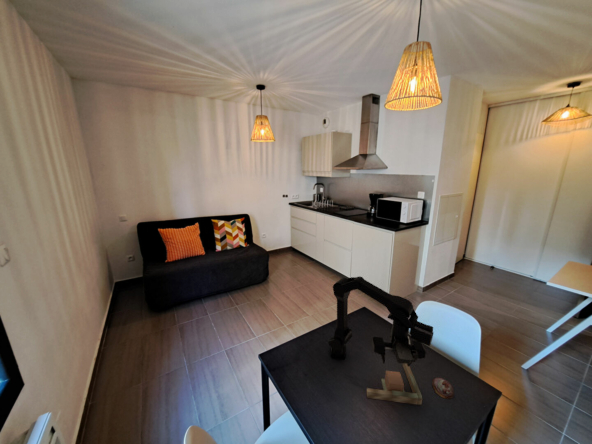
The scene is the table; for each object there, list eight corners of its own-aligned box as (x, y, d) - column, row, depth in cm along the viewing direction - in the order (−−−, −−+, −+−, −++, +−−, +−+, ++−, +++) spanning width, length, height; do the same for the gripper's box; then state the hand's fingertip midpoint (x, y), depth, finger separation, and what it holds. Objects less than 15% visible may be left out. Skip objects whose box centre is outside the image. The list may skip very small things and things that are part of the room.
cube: (388, 393, 89) (389, 383, 87) (384, 380, 94) (385, 370, 92) (402, 395, 88) (404, 385, 86) (398, 382, 93) (399, 372, 92)
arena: (367, 397, 87) (367, 390, 87) (361, 360, 104) (361, 354, 103) (421, 404, 85) (422, 398, 84) (406, 365, 101) (407, 359, 100)
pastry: (445, 402, 86) (447, 392, 84) (427, 385, 92) (429, 375, 91) (458, 394, 89) (460, 384, 87) (440, 378, 95) (442, 368, 94)
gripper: (379, 345, 78) (375, 379, 82) (436, 351, 75) (429, 386, 79) (373, 323, 89) (369, 354, 93) (423, 327, 86) (417, 360, 90)
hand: (395, 364), depth 88 cm, fingers open, 9 cm apart
